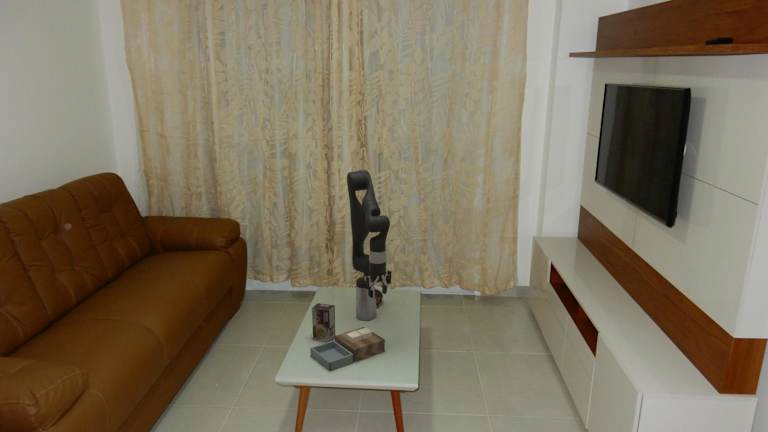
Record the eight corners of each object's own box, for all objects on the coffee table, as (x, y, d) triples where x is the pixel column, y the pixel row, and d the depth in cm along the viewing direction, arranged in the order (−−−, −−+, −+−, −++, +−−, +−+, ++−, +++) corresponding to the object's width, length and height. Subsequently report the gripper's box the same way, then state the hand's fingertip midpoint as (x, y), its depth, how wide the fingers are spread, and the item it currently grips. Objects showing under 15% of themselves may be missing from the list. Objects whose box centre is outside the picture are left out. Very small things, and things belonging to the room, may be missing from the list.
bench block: (364, 338, 263) (364, 326, 262) (384, 351, 251) (384, 339, 249) (334, 348, 254) (334, 335, 252) (354, 362, 242) (354, 349, 240)
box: (334, 348, 254) (333, 340, 253) (353, 362, 241) (353, 354, 240) (310, 356, 247) (310, 347, 246) (329, 371, 234) (329, 362, 233)
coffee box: (336, 337, 265) (335, 305, 261) (330, 343, 259) (329, 310, 255) (318, 334, 268) (317, 302, 264) (312, 340, 262) (311, 307, 258)
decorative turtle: (377, 296, 312) (378, 283, 310) (386, 309, 299) (387, 295, 296) (360, 298, 309) (361, 284, 307) (368, 310, 296) (369, 296, 293)
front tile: (355, 335, 253) (355, 330, 252) (361, 340, 249) (361, 334, 248) (346, 338, 250) (346, 333, 249) (352, 343, 246) (352, 337, 245)
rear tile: (365, 332, 256) (365, 327, 255) (372, 336, 252) (372, 331, 251) (356, 335, 253) (356, 330, 252) (362, 339, 249) (362, 334, 248)
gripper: (385, 254, 255) (385, 289, 259) (359, 261, 247) (359, 296, 251) (395, 259, 249) (395, 294, 254) (369, 265, 241) (369, 301, 245)
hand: (377, 295), depth 252 cm, fingers open, 6 cm apart
